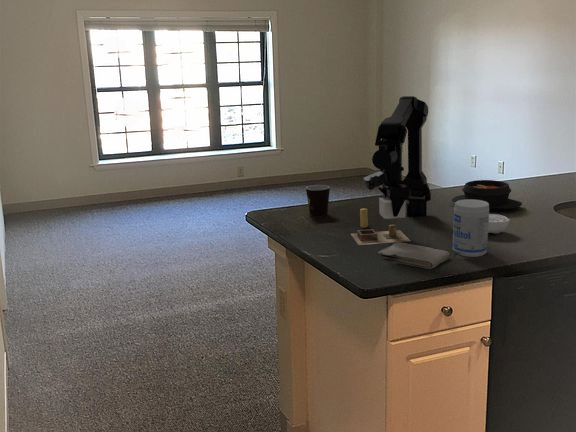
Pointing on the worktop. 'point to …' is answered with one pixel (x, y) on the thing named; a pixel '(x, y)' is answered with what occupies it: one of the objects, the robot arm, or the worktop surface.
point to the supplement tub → (470, 227)
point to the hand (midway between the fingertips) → (392, 213)
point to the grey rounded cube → (390, 209)
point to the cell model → (497, 223)
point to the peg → (363, 218)
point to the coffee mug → (318, 199)
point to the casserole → (489, 194)
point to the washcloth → (415, 255)
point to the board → (379, 236)
